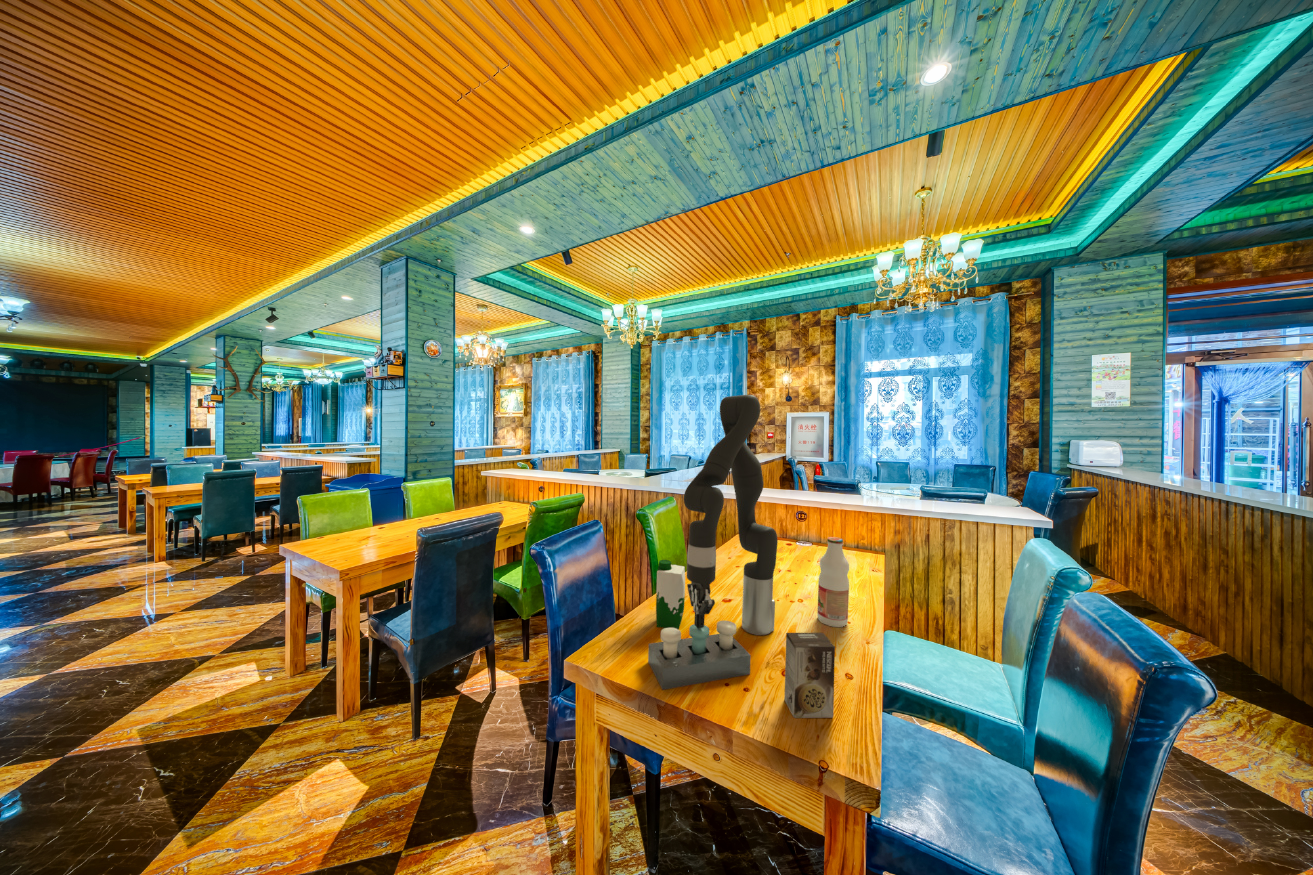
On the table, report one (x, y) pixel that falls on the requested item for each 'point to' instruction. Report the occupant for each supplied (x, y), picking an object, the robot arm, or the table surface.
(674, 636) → the ivory plug
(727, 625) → the ivory plug
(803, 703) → the coffee box
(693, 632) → the plug teal
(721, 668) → the socket strip
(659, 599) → the milk carton
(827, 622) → the fruit juice
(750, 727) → the table surface
